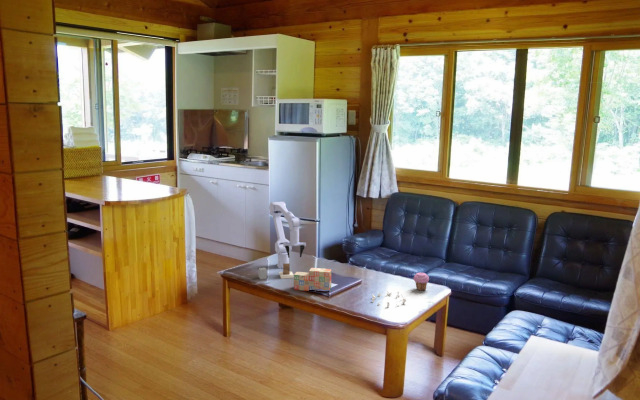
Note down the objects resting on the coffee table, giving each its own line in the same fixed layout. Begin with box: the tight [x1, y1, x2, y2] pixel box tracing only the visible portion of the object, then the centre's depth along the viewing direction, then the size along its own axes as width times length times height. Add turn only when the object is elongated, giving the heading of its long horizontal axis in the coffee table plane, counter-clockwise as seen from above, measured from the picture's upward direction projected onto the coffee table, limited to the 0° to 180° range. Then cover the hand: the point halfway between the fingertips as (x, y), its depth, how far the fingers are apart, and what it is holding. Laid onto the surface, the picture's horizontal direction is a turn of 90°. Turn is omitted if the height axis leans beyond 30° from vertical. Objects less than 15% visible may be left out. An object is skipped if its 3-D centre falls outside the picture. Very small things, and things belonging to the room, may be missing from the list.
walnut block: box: [282, 262, 291, 275], centre depth 333 cm, size 4×4×6 cm
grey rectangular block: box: [258, 267, 268, 280], centre depth 331 cm, size 4×4×6 cm
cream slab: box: [279, 270, 294, 280], centre depth 334 cm, size 8×8×2 cm
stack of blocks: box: [293, 267, 332, 292], centre depth 309 cm, size 21×6×12 cm, turn 78°
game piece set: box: [371, 290, 407, 308], centre depth 291 cm, size 19×20×4 cm
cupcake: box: [413, 272, 430, 291], centre depth 310 cm, size 9×9×10 cm
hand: (294, 257), depth 340 cm, fingers open, 7 cm apart
